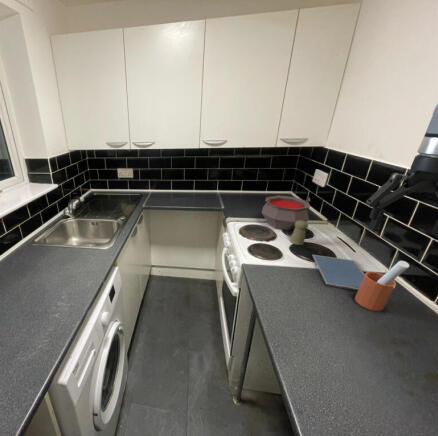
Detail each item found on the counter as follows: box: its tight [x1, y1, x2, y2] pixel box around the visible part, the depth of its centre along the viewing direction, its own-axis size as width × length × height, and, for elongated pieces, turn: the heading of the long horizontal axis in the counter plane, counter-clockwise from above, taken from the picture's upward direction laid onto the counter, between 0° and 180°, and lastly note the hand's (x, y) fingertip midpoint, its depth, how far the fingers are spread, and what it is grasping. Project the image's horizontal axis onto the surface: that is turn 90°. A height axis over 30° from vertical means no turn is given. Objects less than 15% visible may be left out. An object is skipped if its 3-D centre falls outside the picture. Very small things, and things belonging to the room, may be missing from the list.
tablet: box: [311, 254, 365, 292], centre depth 89 cm, size 15×20×1 cm
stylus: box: [377, 260, 410, 285], centre depth 70 cm, size 2×2×20 cm
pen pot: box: [354, 271, 397, 312], centre depth 73 cm, size 7×7×10 cm
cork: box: [289, 220, 309, 246], centre depth 110 cm, size 6×6×11 cm
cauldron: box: [261, 194, 311, 231], centre depth 126 cm, size 24×24×16 cm
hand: (402, 232), depth 65 cm, fingers open, 13 cm apart
